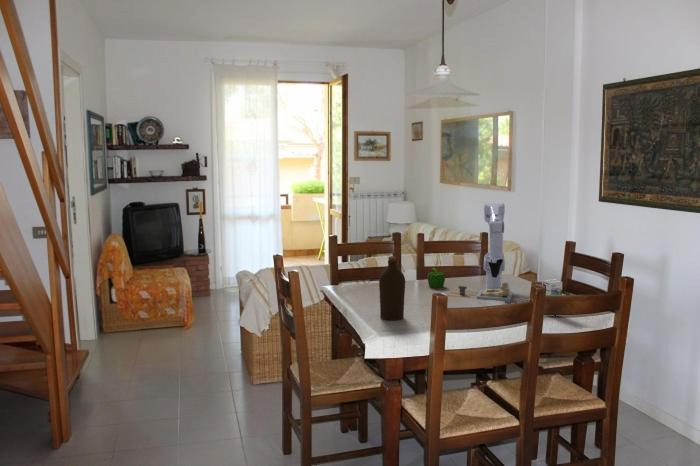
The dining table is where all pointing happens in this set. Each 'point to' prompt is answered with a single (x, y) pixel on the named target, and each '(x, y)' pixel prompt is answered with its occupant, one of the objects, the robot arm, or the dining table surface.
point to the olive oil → (392, 292)
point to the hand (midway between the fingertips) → (495, 275)
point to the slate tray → (494, 297)
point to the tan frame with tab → (497, 291)
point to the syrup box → (553, 287)
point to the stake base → (469, 294)
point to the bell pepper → (436, 279)
